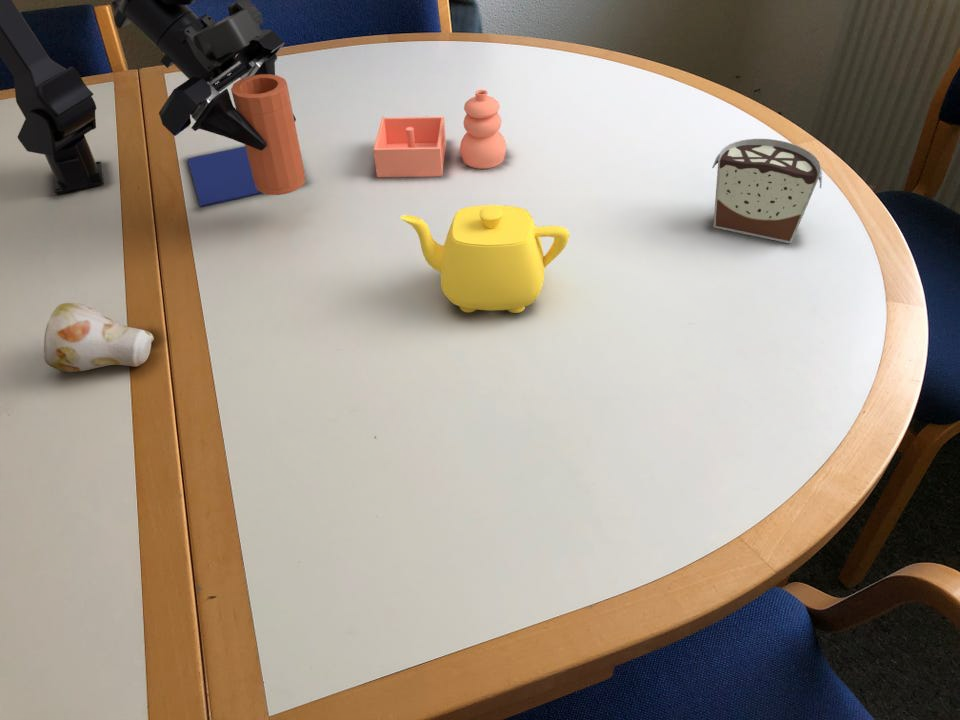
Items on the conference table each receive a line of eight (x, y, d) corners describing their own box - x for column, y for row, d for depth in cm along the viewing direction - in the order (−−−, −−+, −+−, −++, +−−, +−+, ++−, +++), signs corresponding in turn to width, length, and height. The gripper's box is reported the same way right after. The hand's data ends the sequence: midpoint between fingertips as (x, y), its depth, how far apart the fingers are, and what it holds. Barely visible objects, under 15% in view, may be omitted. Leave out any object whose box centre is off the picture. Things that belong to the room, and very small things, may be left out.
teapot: (403, 322, 87) (392, 241, 80) (415, 262, 95) (406, 184, 88) (567, 324, 86) (571, 242, 79) (565, 264, 94) (569, 184, 87)
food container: (811, 220, 99) (833, 147, 92) (803, 246, 95) (826, 172, 88) (712, 200, 103) (726, 129, 96) (701, 224, 99) (714, 152, 92)
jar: (245, 182, 99) (220, 86, 91) (286, 164, 102) (266, 69, 94) (273, 200, 96) (250, 102, 87) (315, 181, 99) (297, 84, 91)
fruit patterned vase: (155, 384, 82) (70, 334, 75) (94, 402, 86) (9, 357, 79) (174, 324, 86) (96, 272, 79) (115, 345, 90) (36, 297, 83)
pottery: (377, 177, 110) (367, 110, 104) (385, 144, 117) (376, 79, 111) (506, 175, 110) (505, 108, 103) (506, 142, 117) (505, 77, 110)
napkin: (187, 160, 116) (187, 158, 116) (282, 140, 119) (282, 138, 119) (200, 207, 106) (200, 205, 106) (303, 183, 110) (302, 182, 110)
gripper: (148, 13, 78) (268, 133, 82) (253, -44, 91) (352, 63, 95) (111, 80, 86) (223, 187, 90) (212, 19, 98) (306, 115, 103)
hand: (279, 135), depth 94 cm, fingers closed on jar, 6 cm apart
